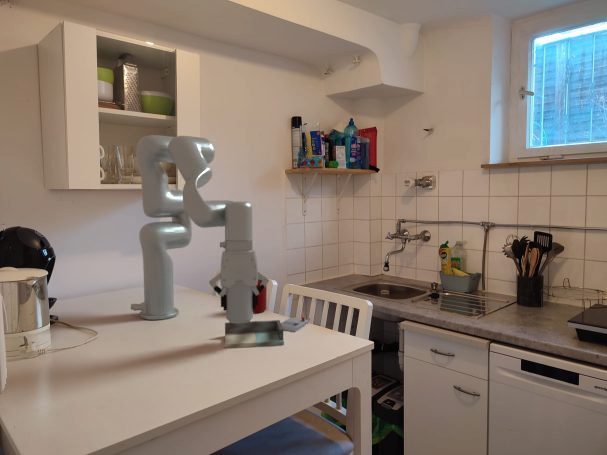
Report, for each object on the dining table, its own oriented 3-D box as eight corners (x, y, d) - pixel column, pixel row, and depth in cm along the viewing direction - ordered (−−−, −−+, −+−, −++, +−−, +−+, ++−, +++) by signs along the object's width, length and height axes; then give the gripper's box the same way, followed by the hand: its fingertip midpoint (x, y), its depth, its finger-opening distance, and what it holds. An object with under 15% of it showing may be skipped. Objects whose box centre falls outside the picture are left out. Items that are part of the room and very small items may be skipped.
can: (231, 325, 120) (230, 281, 119) (222, 318, 126) (222, 277, 125) (257, 322, 123) (256, 279, 122) (247, 315, 130) (247, 274, 129)
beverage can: (267, 308, 160) (267, 275, 159) (264, 313, 153) (264, 279, 152) (249, 308, 161) (249, 275, 160) (245, 313, 154) (245, 279, 153)
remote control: (272, 332, 135) (272, 323, 135) (295, 319, 149) (295, 310, 149) (292, 336, 132) (292, 326, 132) (313, 322, 146) (313, 313, 146)
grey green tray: (225, 347, 120) (225, 333, 120) (225, 335, 130) (225, 322, 130) (283, 344, 123) (283, 330, 123) (279, 333, 133) (279, 320, 133)
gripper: (206, 248, 118) (207, 314, 119) (271, 247, 121) (271, 311, 122) (207, 245, 125) (208, 306, 127) (268, 244, 128) (269, 304, 130)
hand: (239, 308), depth 125 cm, fingers closed on can, 7 cm apart
